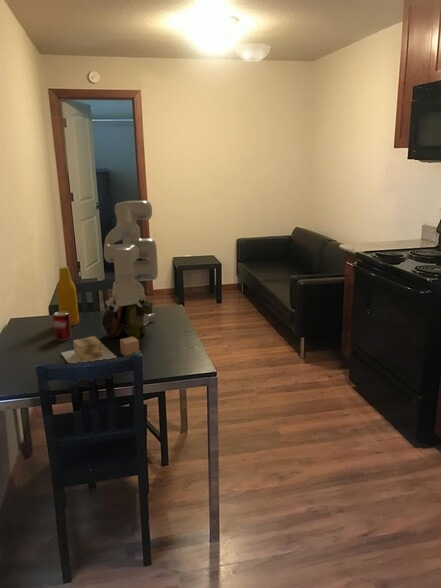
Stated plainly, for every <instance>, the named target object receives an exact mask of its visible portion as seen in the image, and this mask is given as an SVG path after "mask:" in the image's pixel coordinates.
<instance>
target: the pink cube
mask: <svg viewBox="0 0 441 588" xmlns="http://www.w3.org/2000/svg"><path fill="white" fill-rule="evenodd" d="M139 341H140V340H139ZM139 341H138V340H137V339H136V338H134V337H124V338H121V339H119V344H120V353H121V354H122V355H123V356H124V357H126V355H130V354H132V353H133V352H135V351H138V350H139V351H140V342H139Z"/></svg>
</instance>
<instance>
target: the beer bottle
mask: <svg viewBox="0 0 441 588" xmlns="http://www.w3.org/2000/svg"><path fill="white" fill-rule="evenodd" d="M58 273H59V277H58V283H57V286H56V295H57V305H58V307H57V308H58V312H61V311H66V312H68V313H69V314H70V324H71V327H74V326H77V325H79V323H80V317H79V316H80V315H79V306H78V297H77V288H76V285H75V283H74V281H73V280H72V278H71V274H70V269H69V266H60V267H59V272H58Z"/></svg>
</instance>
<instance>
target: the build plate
mask: <svg viewBox="0 0 441 588" xmlns="http://www.w3.org/2000/svg"><path fill="white" fill-rule="evenodd" d="M101 345H102V356H100V357H96V358H92V359H87V360H83V361H80V359H79V358H78V357H77V356H76V355H75V352H74V349H72V350H67V351H63V352H60V355H61V356H62V357H63V358H64V360H65V361H66V362H67V364H68V363H77V362H87V361H95V360H103V359H111V358H117V359H118V357H117V356H116V354H114V353H113V352H112V351H111V350H110V349H109V348H108V347H106V346H105V345H104V344H103V343H101Z"/></svg>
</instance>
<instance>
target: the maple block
mask: <svg viewBox="0 0 441 588" xmlns="http://www.w3.org/2000/svg"><path fill="white" fill-rule="evenodd" d="M72 342H73V350H74V352H75V355H76V356H77V357H78V358H79V359H80V361H83V360H87V359H92V358H96V357H100V356H102V345H101V344H102V341H101V340H99V338H97V337H96V336H95V335H93V336H88V337H83V338H79V339H74V340H73V341H72Z"/></svg>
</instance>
